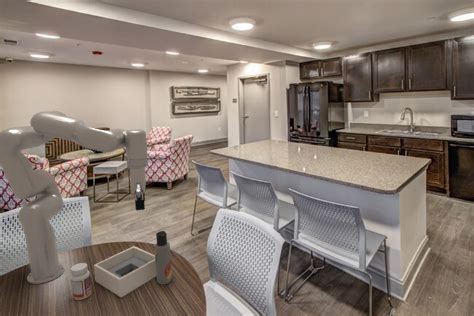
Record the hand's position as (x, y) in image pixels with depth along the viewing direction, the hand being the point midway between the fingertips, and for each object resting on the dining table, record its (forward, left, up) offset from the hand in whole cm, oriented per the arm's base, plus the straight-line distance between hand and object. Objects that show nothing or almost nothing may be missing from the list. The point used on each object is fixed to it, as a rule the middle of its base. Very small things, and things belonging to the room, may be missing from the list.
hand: (140, 205), depth 112 cm
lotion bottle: (+10, +1, -29) cm, 31 cm away
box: (-3, -6, -29) cm, 30 cm away
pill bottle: (-8, -22, -29) cm, 37 cm away
